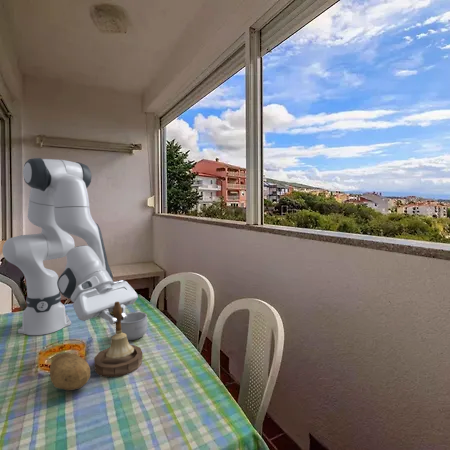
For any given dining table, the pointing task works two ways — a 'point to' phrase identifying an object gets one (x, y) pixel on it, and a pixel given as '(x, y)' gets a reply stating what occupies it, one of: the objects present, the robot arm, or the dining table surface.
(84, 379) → the potato
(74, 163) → the robot arm
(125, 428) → the dining table surface
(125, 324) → the teacup
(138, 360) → the tray
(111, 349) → the hand bell
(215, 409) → the dining table surface
